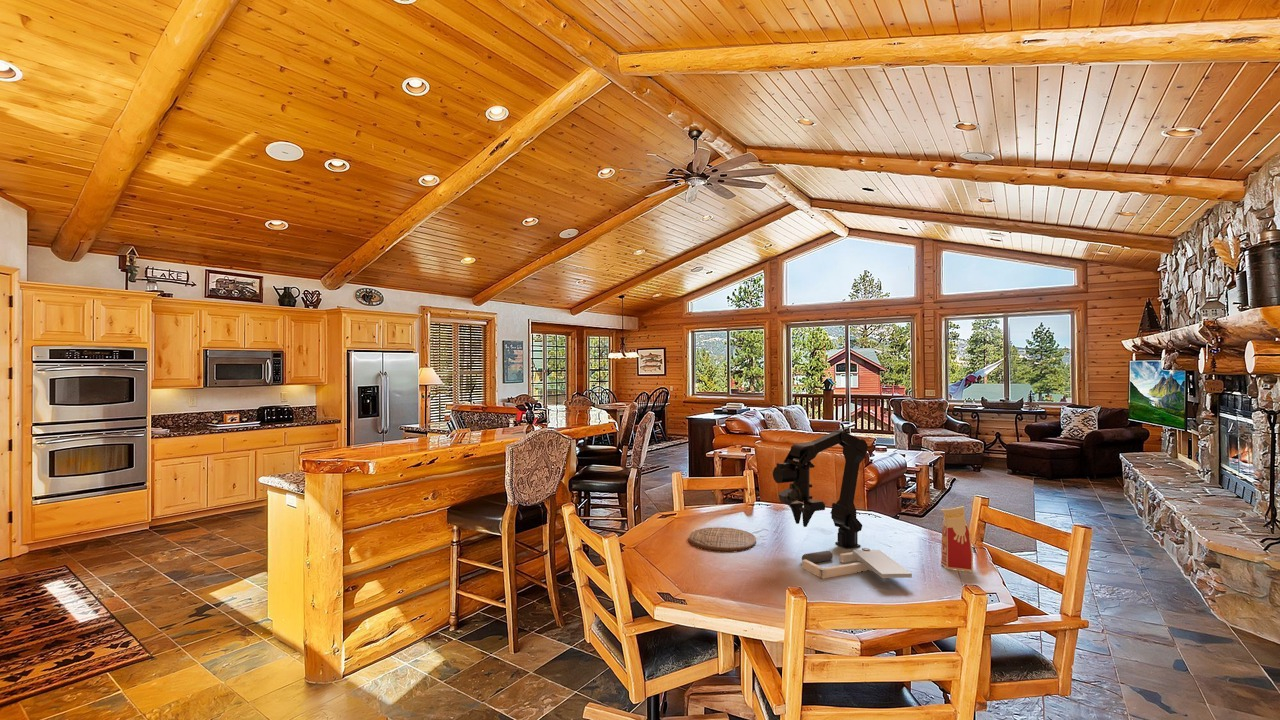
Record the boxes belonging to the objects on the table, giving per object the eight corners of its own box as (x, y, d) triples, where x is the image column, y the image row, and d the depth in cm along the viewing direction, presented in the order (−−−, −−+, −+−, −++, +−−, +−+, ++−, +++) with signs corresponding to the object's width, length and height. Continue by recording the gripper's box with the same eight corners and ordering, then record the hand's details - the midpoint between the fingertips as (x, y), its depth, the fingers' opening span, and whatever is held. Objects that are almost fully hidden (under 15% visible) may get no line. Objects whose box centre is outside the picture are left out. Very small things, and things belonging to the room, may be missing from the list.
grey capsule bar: (828, 558, 197) (828, 548, 197) (834, 561, 194) (834, 551, 194) (799, 562, 193) (799, 553, 193) (805, 565, 190) (805, 556, 190)
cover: (851, 552, 192) (851, 548, 192) (877, 552, 193) (877, 547, 193) (881, 578, 170) (881, 573, 170) (911, 577, 170) (911, 572, 170)
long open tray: (857, 558, 196) (857, 549, 196) (879, 568, 187) (879, 558, 187) (802, 567, 188) (802, 558, 188) (822, 578, 178) (822, 568, 178)
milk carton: (968, 563, 192) (968, 503, 192) (974, 572, 183) (974, 510, 183) (937, 560, 195) (937, 501, 195) (942, 569, 186) (942, 507, 186)
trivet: (756, 555, 201) (755, 549, 201) (685, 550, 206) (685, 545, 206) (756, 534, 226) (756, 529, 226) (692, 530, 231) (692, 525, 231)
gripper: (766, 477, 207) (766, 520, 207) (798, 488, 190) (799, 535, 190) (792, 475, 211) (792, 517, 211) (826, 485, 194) (826, 531, 194)
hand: (801, 525), depth 202 cm, fingers open, 4 cm apart
